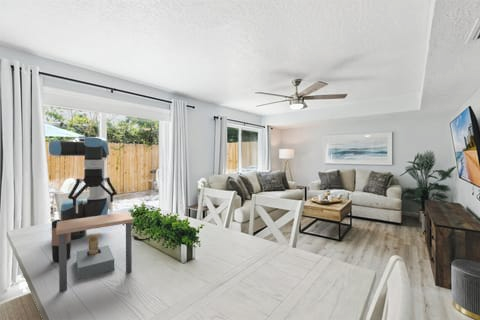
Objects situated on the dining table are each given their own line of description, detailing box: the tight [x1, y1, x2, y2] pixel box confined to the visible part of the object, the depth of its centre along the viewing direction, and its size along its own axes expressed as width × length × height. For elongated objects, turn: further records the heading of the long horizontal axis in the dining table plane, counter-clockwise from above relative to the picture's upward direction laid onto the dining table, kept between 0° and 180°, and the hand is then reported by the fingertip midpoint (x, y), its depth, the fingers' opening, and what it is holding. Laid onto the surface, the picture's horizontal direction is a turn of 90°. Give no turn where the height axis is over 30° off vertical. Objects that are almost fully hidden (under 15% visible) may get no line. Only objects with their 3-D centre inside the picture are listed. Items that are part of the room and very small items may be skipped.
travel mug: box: [51, 219, 72, 264], centre depth 115 cm, size 8×8×20 cm
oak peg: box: [88, 233, 99, 256], centre depth 113 cm, size 4×4×14 cm
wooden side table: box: [56, 211, 135, 293], centre depth 102 cm, size 15×28×25 cm, turn 128°
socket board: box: [75, 244, 115, 280], centre depth 110 cm, size 20×14×5 cm
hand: (93, 210), depth 112 cm, fingers open, 13 cm apart
